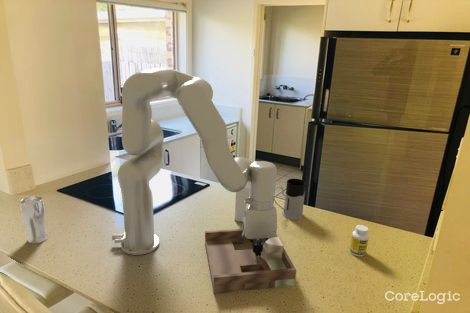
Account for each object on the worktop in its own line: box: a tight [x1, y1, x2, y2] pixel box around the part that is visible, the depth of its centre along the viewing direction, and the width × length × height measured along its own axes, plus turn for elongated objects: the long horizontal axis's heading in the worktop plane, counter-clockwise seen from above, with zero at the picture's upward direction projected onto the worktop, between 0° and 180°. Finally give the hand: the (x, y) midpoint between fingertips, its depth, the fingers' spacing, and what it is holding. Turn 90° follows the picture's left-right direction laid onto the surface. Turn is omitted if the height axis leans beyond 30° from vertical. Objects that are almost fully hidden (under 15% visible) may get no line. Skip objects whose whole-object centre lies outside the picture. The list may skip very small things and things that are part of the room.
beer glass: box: [19, 195, 49, 245], centre depth 111 cm, size 7×7×15 cm
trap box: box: [204, 228, 297, 295], centre depth 104 cm, size 24×24×6 cm
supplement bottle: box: [348, 224, 370, 257], centre depth 112 cm, size 5×5×10 cm
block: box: [263, 236, 284, 260], centre depth 105 cm, size 5×5×5 cm
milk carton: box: [234, 182, 250, 223], centre depth 130 cm, size 7×7×19 cm
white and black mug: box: [274, 178, 307, 221], centre depth 134 cm, size 9×14×15 cm, turn 107°
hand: (257, 253), depth 105 cm, fingers closed
